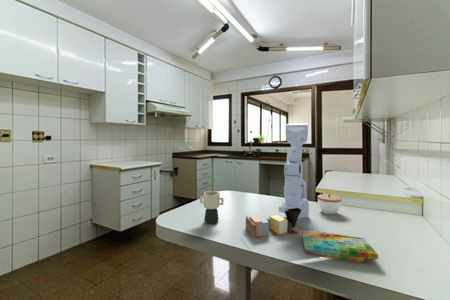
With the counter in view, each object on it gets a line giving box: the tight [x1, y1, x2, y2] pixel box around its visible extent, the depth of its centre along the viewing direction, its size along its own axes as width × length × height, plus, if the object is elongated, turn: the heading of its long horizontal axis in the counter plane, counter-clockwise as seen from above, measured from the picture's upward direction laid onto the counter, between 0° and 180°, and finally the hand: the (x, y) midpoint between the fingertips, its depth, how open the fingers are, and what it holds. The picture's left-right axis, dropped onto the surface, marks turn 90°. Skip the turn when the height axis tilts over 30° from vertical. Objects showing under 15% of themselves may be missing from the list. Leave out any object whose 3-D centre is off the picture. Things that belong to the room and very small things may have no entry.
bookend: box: [282, 216, 298, 234], centre depth 86 cm, size 4×6×4 cm, turn 13°
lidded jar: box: [317, 193, 342, 215], centre depth 109 cm, size 11×11×9 cm
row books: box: [249, 215, 269, 237], centre depth 83 cm, size 5×6×6 cm
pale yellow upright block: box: [268, 214, 288, 234], centre depth 85 cm, size 4×6×5 cm, turn 25°
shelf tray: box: [245, 216, 302, 239], centre depth 85 cm, size 21×9×6 cm, turn 103°
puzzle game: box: [301, 229, 379, 263], centre depth 71 cm, size 12×5×20 cm
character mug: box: [199, 190, 225, 224], centre depth 95 cm, size 11×7×13 cm, turn 75°
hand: (291, 226), depth 86 cm, fingers closed
